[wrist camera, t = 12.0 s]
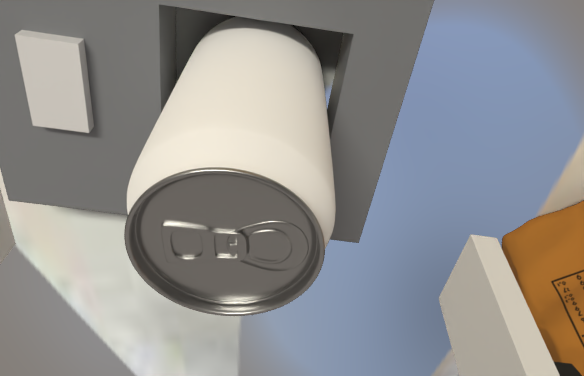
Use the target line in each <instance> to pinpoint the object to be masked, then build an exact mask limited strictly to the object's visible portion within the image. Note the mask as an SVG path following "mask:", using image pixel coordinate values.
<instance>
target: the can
mask: <svg viewBox="0 0 584 376" xmlns="http://www.w3.org/2000/svg"><path fill="white" fill-rule="evenodd" d="M127 212H128V217H127V220H126V225H125V234H124V237H125V246H126V250H127V253H128V256H129V258H130V261H131V263H132V265H133V266H134V268H135V269H136V271H137V272H138V274H139V275H140V276H141V277H142V278H143V279H144V281H145V282H146V283H147V284H148V285H150V286H151V287H152V288H153V289H154V290H156V291H157V292H158V293H160V294H161V295H163V296H164V297H166V298H168V299H169V300H171V301H173V302H175V303H177V304H179V305H182V306H184V307H187V308H190V309H193V310H196V311H200V312H204V313H209V314H215V315H224V316H245V315H253V314H259V313H263V312H268V311H271V310H274V309H277V308H279V307H282V306H284V305H286V304H288V303H290V302H291V301H293V300H295V299H296V298H298V297H299V296H300V295H302V294H303V293H304V292H305V291H306V290H307V289H308V288H309V287H310V286H311V285H312V283H313V282H314V281H315V279H316V278H317V276H318V274H319V272H320V270H321V267H322V264H323V261H324V255H325V248H326V246H327V244H328V242H329V240H330V237H331V235H332V232H333V228H334V223H335V212H336V205H335V189H334V177H333V166H332V156H331V146H330V136H329V126H328V116H327V107H326V98H325V89H324V80H323V74H322V68H321V64H320V61H319V58H318V56H317V53H316V52H315V50H314V48H313V47H312V45H311V44H310V42H309V41H308V40H307V39H306V38H305V37H304V36H303V35H302V34H301V33H300V32H299V31H298V30H296V29H295V28H294V27H292V26H291V25H289V24H284V23H277V22H271V21H264V20H258V19H251V18H245V17H234V18H231V19H228V20H226V21H223V22H221V23H220V24H218V25H216V26H215V27H213V28H212V29H211V30H210V31H209V32H207V33H206V34H205V36H204V37H203V38H202V39H201V40H200V42H199V43H198V45H197V46H196V48H195V50H194V51H193V53H192V55H191V57H190V59H189V60H188V62H187V64H186V66H185V68H184V70H183V72H182V74H181V76H180V78H179V80H178V81H177V83H176V85H175V87H174V89H173V91H172V93H171V95H170V97H169V99H168V101H167V103H166V105H165V107H164V109H163V111H162V113H161V114H160V116H159V118H158V120H157V122H156V124H155V126H154V128H153V130H152V132H151V134H150V136H149V138H148V140H147V142H146V144H145V146H144V148H143V150H142V152H141V154H140V156H139V158H138V161H137V163H136V165H135V167H134V169H133V172H132V175H131V178H130V181H129V185H128V189H127Z"/></svg>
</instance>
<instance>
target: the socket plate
mask: <svg viewBox="0 0 584 376" xmlns="http://www.w3.org/2000/svg"><path fill="white" fill-rule="evenodd" d="M433 2H434V0H0V169H1V172H2V176H3V180H4V184H5V188H6V191H7V195H8V199H9V200H10V201H18V202H26V203H34V204H43V205H51V206H59V207H67V208H76V209H84V210H92V211H100V212H109V213H117V214H125V215H128V212H127V189H128V185H129V181H130V178H131V175H132V172H133V169H134V167H135V165H136V163H137V161H138V158H139V156H140V154H141V152H142V150H143V148H144V146H145V144H146V142H147V140H148V138H149V136H150V134H151V132H152V130H153V128H154V126H155V124H156V122H157V120H158V118H159V116H160V114H161V113H162V111H163V109H164V107H165V105H166V103H167V101H168V99H169V97H170V95H171V93H172V91H173V89H174V87H175V85H176V7H180V8H186V9H193V10H199V11H206V12H212V13H219V14H225V15H232V16H238V17H245V18H251V19H258V20H264V21H271V22H277V23H284V24H290V25H297V26H303V27H310V28H316V29H323V30H329V31H336V32H342V33H343V38H342V42H341V47H340V52H339V57H338V61H337V66H336V71H335V76H334V80H333V85H332V90H331V95H330V99H329V105H328V109H327V116H328V126H329V136H330V146H331V156H332V166H333V177H334V189H335V205H336V212H335V223H334V228H333V232H332V235H331V237H330V239H331V240H339V241H347V242H356V243H359V240H360V237H361V234H362V230H363V227H364V224H365V220H366V217H367V214H368V211H369V208H370V205H371V201H372V198H373V195H374V192H375V189H376V185H377V182H378V179H379V176H380V172H381V169H382V166H383V162H384V160H385V156H386V153H387V150H388V147H389V144H390V140H391V137H392V134H393V130H394V128H395V124H396V121H397V118H398V114H399V112H400V108H401V105H402V102H403V98H404V95H405V92H406V89H407V86H408V83H409V79H410V76H411V73H412V70H413V66H414V63H415V60H416V57H417V54H418V51H419V47H420V43H421V41H422V38H423V35H424V31H425V28H426V25H427V22H428V18H429V15H430V12H431V9H432V5H433Z"/></svg>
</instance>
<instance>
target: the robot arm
mask: <svg viewBox="0 0 584 376" xmlns="http://www.w3.org/2000/svg"><path fill="white" fill-rule="evenodd" d="M15 244H16V243H15V240H14V236H13V233H12V229H11V226H10V222H9V218H8V215H7V211H6V208H5V204H4V201H3V197H2V193H1V190H0V264H1V263H2V261H3V260H4V259H5V257H6V256H7V255H8V253H9V252H10V250H11V249H12V248H13V247H14V245H15ZM439 302H440V305H441V309H442V313H443V316H444V320H445V324H446V328H447V331H448V335H449V338H450V342H451V346H452V350H453V353H454V357H455V361H456V364H457V368H458V372H459V376H582V375H581V374H580V372H579V371H578V370H577V369H576V368H575V367H574V366H573V364H570V363H562V362H554V361H553V360H552V357H551V355H550V353H549V351H548V349H547V347H546V344H545V342H544V340H543V338H542V336H541V333H540V331H539V329H538V327H537V325H536V323H535V320H534V318H533V316H532V314H531V312H530V309H529V307H528V305H527V303H526V301H525V299H524V296H523V294H522V292H521V290H520V288H519V285H518V283H517V281H516V279H515V277H514V275H513V272H512V270H511V268H510V266H509V264H508V261H507V259H506V257H505V255H504V253H503V251H502V248H501V246H500V244H499V242H498V240H497V238H492V237H484V236H478V235H470V237H469V239H468V241H467V243H466V245H465V247H464V249H463V251H462V253H461V255H460V257H459V259H458V261H457V263H456V265H455V267H454V269H453V271H452V273H451V275H450V277H449V279H448V281H447V283H446V285H445V287H444V289H443V291H442V293H441V295H440V297H439Z"/></svg>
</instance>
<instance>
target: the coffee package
mask: <svg viewBox="0 0 584 376" xmlns="http://www.w3.org/2000/svg"><path fill="white" fill-rule="evenodd" d="M502 251H503V253H504V255H505V257H506V259H507V261H508V264H509V266H510V268H511V270H512V272H513V275H514V277H515V279H516V281H517V283H518V285H519V288H520V290H521V292H522V294H523V296H524V299H525V301H526V303H527V305H528V307H529V309H530V312H531V314H532V316H533V318H534V320H535V323H536V325H537V327H538V329H539V331H540V333H541V336H542V338H543V340H544V342H545V344H546V347H547V349H548V351H549V353H550V355H551V357H552V360H553V361H554V362H562V363H570V364H573V366H574V367H575V368H576V369H577V370H578V371H579V372H580V374H581V375H582V376H584V201H582V202H580V203H578V204H576V205H573V206H570V207H567V208H565V209H562V210H560V211H556V212H553V213H549V214H545V215H542V216H539V217H536V218H534V219H531V220H529V221H528V222H526V223H525V224H523V225H522V226H520V227H519V228H517V229H515V230H514V231H512V232H510V233H508V234H506V235H505V236H503V238H502Z"/></svg>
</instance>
